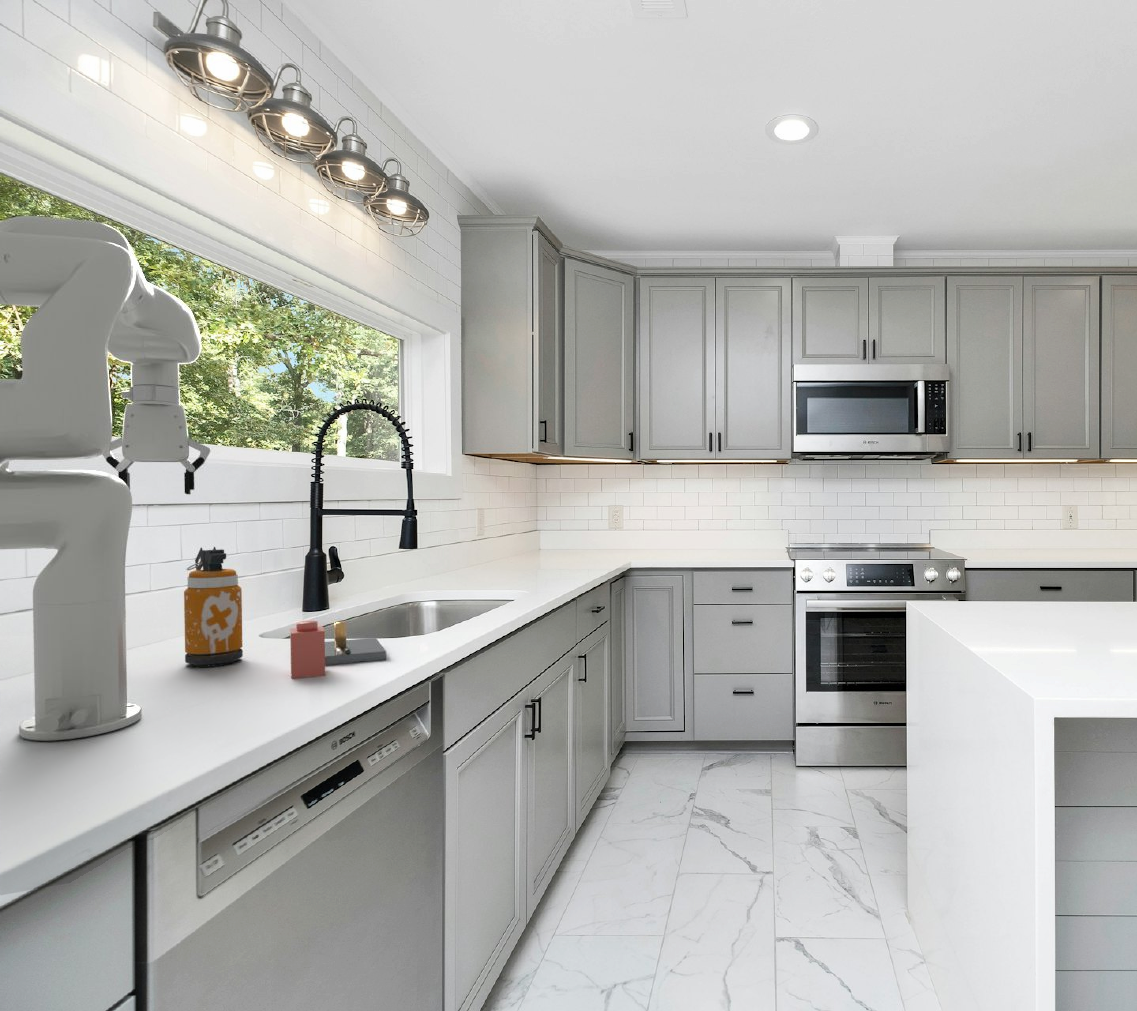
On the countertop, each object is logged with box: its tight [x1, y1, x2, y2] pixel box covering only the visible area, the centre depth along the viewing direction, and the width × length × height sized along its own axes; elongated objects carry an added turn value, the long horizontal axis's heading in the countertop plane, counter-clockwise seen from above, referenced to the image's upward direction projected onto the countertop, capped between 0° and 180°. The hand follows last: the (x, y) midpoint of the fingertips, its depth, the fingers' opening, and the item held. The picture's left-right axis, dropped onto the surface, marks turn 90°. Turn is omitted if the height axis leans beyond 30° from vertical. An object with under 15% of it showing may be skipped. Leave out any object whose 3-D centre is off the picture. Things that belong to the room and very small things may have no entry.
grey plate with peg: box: [325, 621, 387, 666], centre depth 130 cm, size 14×14×6 cm
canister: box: [183, 546, 244, 668], centre depth 127 cm, size 9×11×20 cm
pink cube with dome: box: [289, 620, 326, 679], centre depth 117 cm, size 5×5×8 cm
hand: (157, 494), depth 131 cm, fingers open, 9 cm apart
